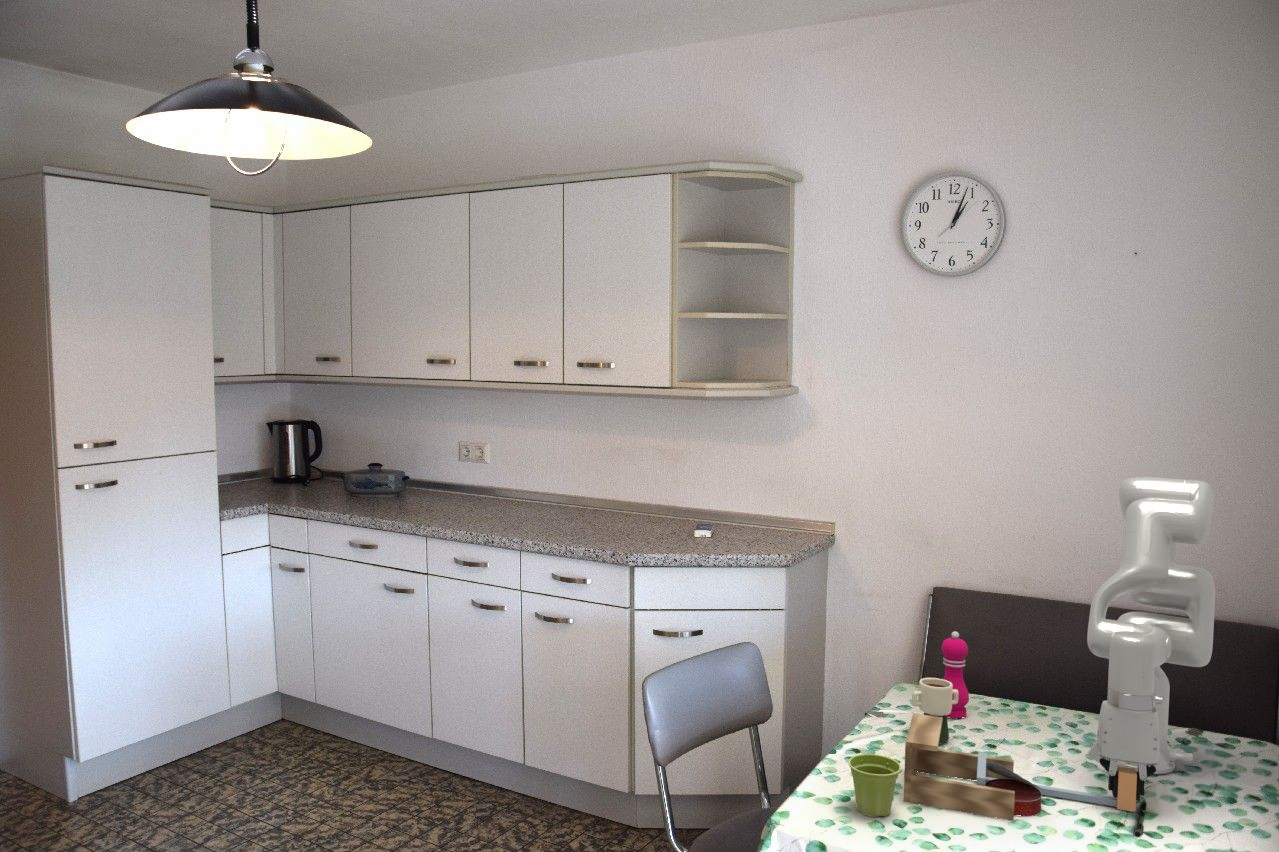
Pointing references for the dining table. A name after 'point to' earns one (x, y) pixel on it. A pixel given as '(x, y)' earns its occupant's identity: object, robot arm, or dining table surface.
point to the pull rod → (1122, 802)
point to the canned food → (1017, 790)
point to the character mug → (936, 701)
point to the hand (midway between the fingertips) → (1125, 795)
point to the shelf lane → (950, 774)
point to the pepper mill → (956, 672)
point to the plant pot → (874, 783)
